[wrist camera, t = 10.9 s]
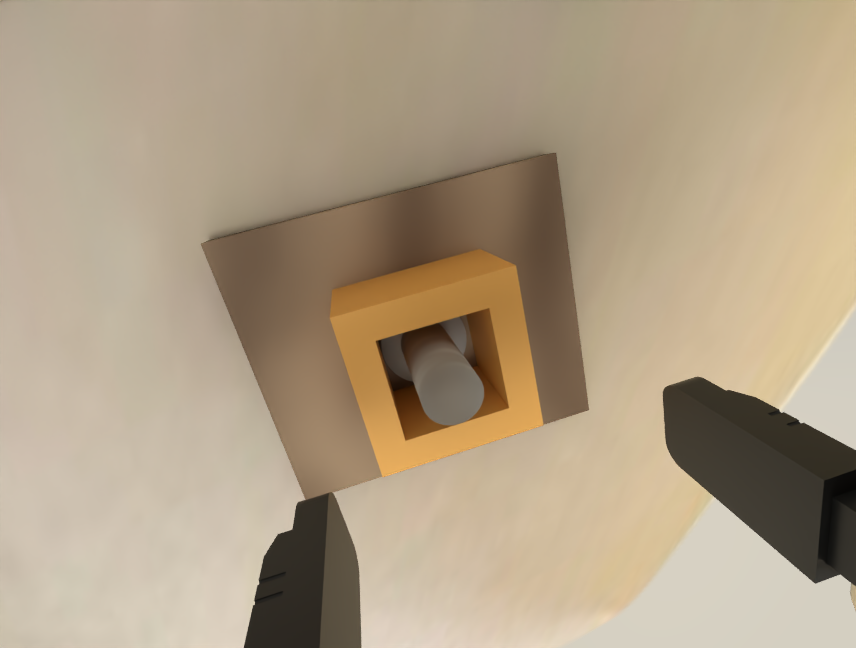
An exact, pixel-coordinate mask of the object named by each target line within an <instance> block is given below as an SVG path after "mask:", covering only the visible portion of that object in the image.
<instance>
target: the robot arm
mask: <svg viewBox="0 0 856 648" xmlns="http://www.w3.org/2000/svg"><path fill="white" fill-rule="evenodd" d="M663 406H664V422H665V438H666V444H667V448H668V450H669V453H670V454H671V456H672V458H673V459H674V461H675V462H676V463H677V465H678V466H679V467H680V468H681V469H683V470H684V471H685V472H686V473H687V474H688V475H690V476H691V477H692V478H693V479H694V480H695V481H697V482H698V483H699V484H700V485H701V486H702V487H704V488H705V489H706V490H707V491H708V492H709V493H710V494H712V495H713V496H714V497H715V498H716V499H717V500H719V501H720V502H721V503H722V504H723V505H724V506H726V507H727V508H728V509H729V510H730V511H732V512H733V513H734V514H735V515H736V516H737V517H738V518H740V519H741V520H742V521H743V522H744V523H745V524H747V525H748V526H749V527H750V528H751V529H752V530H754V531H755V532H756V533H757V534H758V535H759V536H760V537H762V538H763V539H764V540H765V541H766V542H767V543H769V544H770V545H771V546H772V547H773V548H774V549H776V550H777V551H778V552H779V553H780V554H781V555H782V556H784V557H785V558H786V559H787V560H789V561H790V562H791V563H792V564H793V565H794V566H795V567H797V568H798V569H799V570H800V571H801V572H802V573H803V574H805V575H806V576H807V577H808V578H809V579H810V580H812V581H813V582H814V583H818V582H821V581H823V580H826V579H829V578H832V577H834V576H837V575H840V574H841V575H842V576H843V577H844V578H846V579H847V580H848V581H850V582H851V591H850V594H851V599H852V602H853V605H854V608H855V610H856V450H854V449H852V448H850V447H848V446H846V445H845V444H843V443H841V442H839V441H837V440H835V439H833V438H831V437H830V436H827V435H826V434H824V433H822V432H820V431H818V430H816V429H814V428H812V427H811V426H809V425H807V424H805V423H800V422H799V420H797V419H796V418H794V417H792V416H790V415H788V414H786V413H784V412H783V413H781V412H780V411H779V409H777V408H775V407H773V406H771V405H769V404H767V403H765V402H764V401H762V400H760V399H758V398H756V397H752V396H749V395H745V394H741V393H738V392H734V391H731V390H727V391H726V390H724V389H722V388H720V387H718V386H717V385H715V384H713V383H711V382H709V381H708V380H706V379H704V378H701V377H694V378H691V379H688V380H685V381H682V382H679V383H676V384H672V385H669V386H667V387H665V389H664V391H663ZM254 601H255V605H253V609H252V613H251V618H250V622H249V627H248V631H247V636H246V640H245V645H244V648H361V618H360V584H359V567H358V560H357V555H356V551H355V547H354V544H353V541H352V539H351V536H350V534H349V531H348V528H347V526H346V523H345V521H344V518H343V516H342V513H341V511H340V508H339V505H338V503H337V500H336V498H335V496H334V494H333V493H332V492H329V493H326V494H323V495H320V496H317V497H313V498H310V499H307V500H304V501H301V502H298V503H297V506H296V511H295V518H294V524H293V530H290V531H287V532H284V533H281V534H278V535H277V537H276V538H275V540H274V542H273V543H272V545H271V546H270V548H269V550H268V551H267V553H266V555H265V556H264V559H263V564H262V568H261V573H260V577H259V585H258V586H257V591H256V595H255V600H254Z"/></svg>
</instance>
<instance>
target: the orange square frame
mask: <svg viewBox="0 0 856 648" xmlns="http://www.w3.org/2000/svg"><path fill="white" fill-rule="evenodd" d="M463 315H466V316H467V321H468V325H469V330H470V334H471V339H472V343H473V348H474V353H475V357H476V362H477V366H475V367H472V368H473V370H474V371H475V372H476V374H477V375H478V377H479V378H480V380H481V381H482V384H483V387H484V399H483V402H482V405H481V407H480V409H479V410H478V411H477V413H476V414H475V415H474V416H473V417H471V418H470V419H469V420H467V421H465V422H463V423H460V424H457V425H442V424H439V423H436V422H434V421H433V420H431V419H430V418H429V417H428V416H427V415H426V413H425V412H424V410H423V407H422V404H421V402H420V399H419V396H418V393H417V391H416V388H415V385H412V386H409V387H406V388H402V389H399V390H396V391H393V389H392V386H391V383H390V379H389V376H388V373H387V369H386V366H385V363H384V359H383V356H382V353H381V349H380V346H379V343H378V340H381V339H384V338H387V337H391V336H394V335H398V334H401V333H405V332H408V331H411V330H415V329H418V328H422V327H425V326H429V325H432V324H436V323H439V322H442V321H446V320H449V319H453V318H456V317H460V316H463ZM330 321H331V324H332V327H333V330H334V333H335V336H336V339H337V342H338V345H339V348H340V351H341V354H342V357H343V360H344V363H345V366H346V369H347V372H348V375H349V378H350V381H351V384H352V387H353V390H354V393H355V396H356V399H357V402H358V405H359V408H360V411H361V414H362V417H363V420H364V423H365V426H366V429H367V432H368V435H369V438H370V441H371V444H372V447H373V450H374V453H375V456H376V459H377V462H378V465H379V468H380V471H381V474H382V477H385V476H388V475H391V474H394V473H397V472H401V471H404V470H407V469H410V468H413V467H416V466H419V465H422V464H425V463H428V462H431V461H435V460H438V459H441V458H444V457H447V456H450V455H453V454H456V453H459V452H462V451H465V450H469V449H472V448H475V447H478V446H481V445H484V444H487V443H490V442H493V441H496V440H499V439H502V438H506V437H509V436H512V435H515V434H518V433H521V432H524V431H527V430H530V429H533V428H536V427H540V426H543V419H542V413H541V407H540V402H539V396H538V390H537V384H536V378H535V373H534V367H533V361H532V355H531V349H530V344H529V338H528V332H527V326H526V320H525V315H524V309H523V303H522V297H521V292H520V286H519V280H518V274H517V268H516V265H514V264H512V263H510V262H508V261H505V260H503V259H501V258H499V257H497V256H494V255H492V254H490V253H488V252H486V251H483V250H481V249H478V250H474V251H470V252H467V253H463V254H460V255H456V256H452V257H449V258H445V259H441V260H438V261H434V262H431V263H427V264H423V265H420V266H416V267H413V268H409V269H405V270H402V271H398V272H395V273H391V274H387V275H384V276H380V277H376V278H373V279H369V280H366V281H362V282H358V283H355V284H351V285H348V286H344V287H340V288H337V289H333V290H332V298H331V309H330Z"/></svg>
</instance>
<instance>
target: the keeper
mask: <svg viewBox="0 0 856 648" xmlns="http://www.w3.org/2000/svg"><path fill="white" fill-rule="evenodd" d="M201 246H202V248H203V251H204V253H205V255H206V258H207V260H208V263H209V265H210V268H211V270H212V272H213V275H214V277H215V280H216V282H217V285H218V287H219V290H220V292H221V294H222V297H223V299H224V302H225V304H226V307H227V309H228V311H229V314H230V316H231V319H232V321H233V324H234V326H235V329H236V331H237V333H238V336H239V338H240V341H241V343H242V346H243V348H244V350H245V353H246V355H247V358H248V360H249V363H250V365H251V368H252V370H253V372H254V375H255V377H256V380H257V382H258V385H259V387H260V389H261V392H262V394H263V397H264V399H265V402H266V404H267V407H268V409H269V411H270V414H271V416H272V419H273V421H274V424H275V426H276V428H277V431H278V433H279V436H280V438H281V441H282V443H283V446H284V448H285V450H286V453H287V455H288V458H289V460H290V463H291V465H292V467H293V470H294V472H295V475H296V477H297V480H298V482H299V485H300V487H301V489H302V492H303V494H304V497H305V499H306V500H307V499H310V498H313V497H317V496H320V495H323V494H326V493H329V492H335V491H339V490H342V489H345V488H348V487H351V486H354V485H357V484H360V483H363V482H367V481H370V480H373V479H376V478H379V477H382V474H381V471H380V468H379V465H378V462H377V459H376V456H375V453H374V450H373V447H372V444H371V441H370V438H369V435H368V432H367V429H366V426H365V423H364V420H363V417H362V414H361V411H360V408H359V405H358V402H357V399H356V396H355V393H354V390H353V387H352V384H351V381H350V378H349V375H348V372H347V369H346V366H345V363H344V360H343V357H342V354H341V351H340V348H339V345H338V342H337V339H336V336H335V333H334V330H333V327H332V324H331V321H330V309H331V298H332V290H333V289H337V288H340V287H344V286H348V285H351V284H355V283H358V282H362V281H366V280H369V279H373V278H376V277H380V276H384V275H387V274H391V273H395V272H398V271H402V270H405V269H409V268H413V267H416V266H420V265H423V264H427V263H431V262H434V261H438V260H441V259H445V258H449V257H452V256H456V255H460V254H463V253H467V252H470V251H474V250H478V249H481V250H483V251H486V252H488V253H490V254H492V255H494V256H497V257H499V258H501V259H503V260H505V261H508V262H510V263H512V264H514V265H516V268H517V274H518V280H519V286H520V292H521V297H522V303H523V309H524V315H525V320H526V326H527V332H528V338H529V344H530V349H531V355H532V361H533V367H534V373H535V378H536V384H537V390H538V396H539V402H540V407H541V413H542V419H543V425H544V424H547V423H550V422H553V421H556V420H559V419H562V418H566V417H569V416H572V415H575V414H578V413H581V412H584V411H587V410H589V406H588V399H587V391H586V383H585V375H584V367H583V360H582V352H581V344H580V336H579V328H578V321H577V313H576V305H575V297H574V289H573V282H572V274H571V266H570V258H569V250H568V243H567V235H566V227H565V219H564V211H563V204H562V196H561V188H560V180H559V172H558V164H557V157H556V153H552V154H545V155H541V156H537V157H534V158H530V159H526V160H522V161H518V162H514V163H510V164H506V165H502V166H498V167H494V168H491V169H487V170H483V171H479V172H475V173H471V174H467V175H463V176H459V177H455V178H451V179H448V180H444V181H440V182H436V183H432V184H428V185H424V186H420V187H416V188H412V189H408V190H405V191H401V192H397V193H393V194H389V195H385V196H381V197H377V198H373V199H369V200H365V201H362V202H358V203H354V204H350V205H346V206H342V207H338V208H334V209H330V210H326V211H322V212H319V213H315V214H311V215H307V216H303V217H299V218H295V219H291V220H287V221H283V222H279V223H276V224H272V225H268V226H264V227H260V228H256V229H252V230H248V231H244V232H240V233H236V234H233V235H229V236H225V237H221V238H217V239H213V240H209V241H206V242H204V243H202V244H201ZM378 343H379V346H380V349H381V353H382V356H383V359H384V363H385V366H386V369H387V373H388V376H389V379H390V383H391V386H392V389H393V391H396V390H399V389H402V388H406V387H409V386H412V385H415V388H416V391H417V393H418V396H419V399H420V402H421V404H422V407H423V410H424V412H425V413H426V415H427V416H428V417H429V418H430V419H431V420H433V421H434V422H436V423H439V424H442V425H457V424H460V423H463V422H465V421H467V420H469V419H470V418H471V417H473V416H474V415H475V414H476V413H477V411H478V410H479V409H480V407H481V405H482V402H483V399H484V387H483V384H482V381H481V380H480V378H479V377H478V375H477V374H476V372H475V371H474V370H473V368H472V367H475V366H477V362H476V357H475V353H474V348H473V343H472V339H471V334H470V330H469V325H468V321H467V316H466V315H463V316H460V317H456V318H453V319H449V320H446V321H442V322H439V323H436V324H432V325H429V326H425V327H422V328H418V329H415V330H411V331H408V332H405V333H401V334H398V335H394V336H391V337H387V338H384V339H381V340H378Z"/></svg>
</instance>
